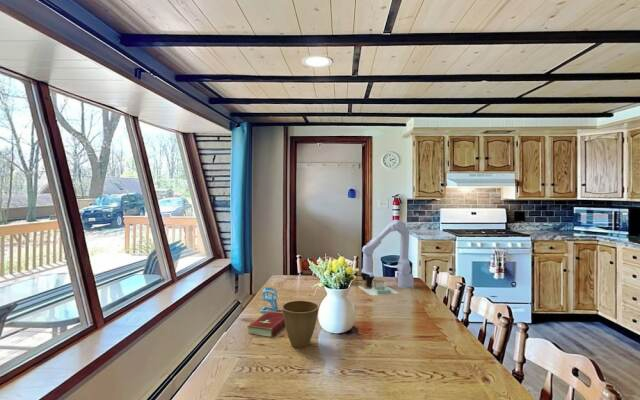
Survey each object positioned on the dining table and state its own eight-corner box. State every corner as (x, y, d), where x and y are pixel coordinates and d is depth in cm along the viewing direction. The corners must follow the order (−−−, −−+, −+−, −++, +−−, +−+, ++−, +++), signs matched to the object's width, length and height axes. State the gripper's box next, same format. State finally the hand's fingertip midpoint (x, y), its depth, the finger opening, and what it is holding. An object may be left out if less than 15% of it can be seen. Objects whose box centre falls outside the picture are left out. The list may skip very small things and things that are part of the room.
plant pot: (274, 346, 155) (274, 307, 154) (296, 334, 167) (297, 298, 167) (304, 355, 147) (304, 314, 146) (325, 342, 159) (325, 304, 158)
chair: (275, 314, 194) (275, 290, 193) (259, 312, 196) (259, 289, 195) (279, 309, 201) (280, 286, 201) (264, 307, 203) (265, 285, 203)
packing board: (383, 285, 251) (384, 280, 251) (399, 294, 230) (399, 289, 230) (356, 287, 246) (357, 282, 246) (370, 296, 225) (370, 291, 225)
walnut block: (369, 286, 245) (369, 279, 245) (372, 288, 241) (372, 281, 241) (362, 286, 244) (362, 280, 244) (365, 288, 239) (365, 282, 239)
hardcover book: (290, 321, 184) (290, 313, 184) (271, 338, 164) (271, 328, 164) (268, 318, 188) (268, 310, 188) (247, 334, 168) (247, 325, 168)
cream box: (380, 285, 248) (380, 279, 248) (384, 287, 243) (384, 281, 243) (373, 285, 246) (373, 279, 246) (376, 287, 241) (376, 281, 241)
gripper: (357, 262, 248) (357, 283, 248) (366, 267, 234) (365, 288, 234) (367, 261, 250) (367, 282, 250) (376, 266, 236) (376, 288, 236)
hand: (367, 285), depth 242 cm, fingers closed on walnut block, 5 cm apart
